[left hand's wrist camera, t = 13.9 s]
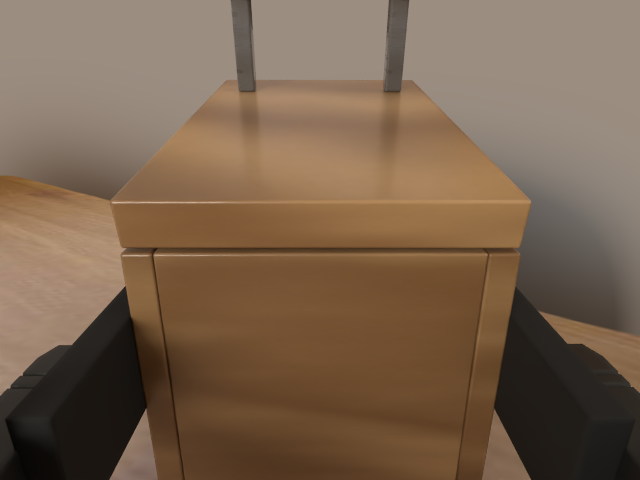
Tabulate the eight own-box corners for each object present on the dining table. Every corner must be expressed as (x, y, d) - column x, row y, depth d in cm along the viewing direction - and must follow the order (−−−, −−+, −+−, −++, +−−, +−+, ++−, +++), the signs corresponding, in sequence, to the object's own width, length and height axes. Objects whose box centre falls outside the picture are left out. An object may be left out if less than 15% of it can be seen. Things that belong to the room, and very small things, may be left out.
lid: (228, 104, 22) (206, -123, 18) (410, 105, 22) (433, -122, 18) (120, 249, 10) (-35, -353, 6) (521, 249, 10) (678, -351, 6)
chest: (241, 318, 26) (229, 152, 22) (397, 318, 26) (409, 153, 22) (168, 548, 13) (118, 253, 10) (470, 547, 13) (522, 253, 10)
